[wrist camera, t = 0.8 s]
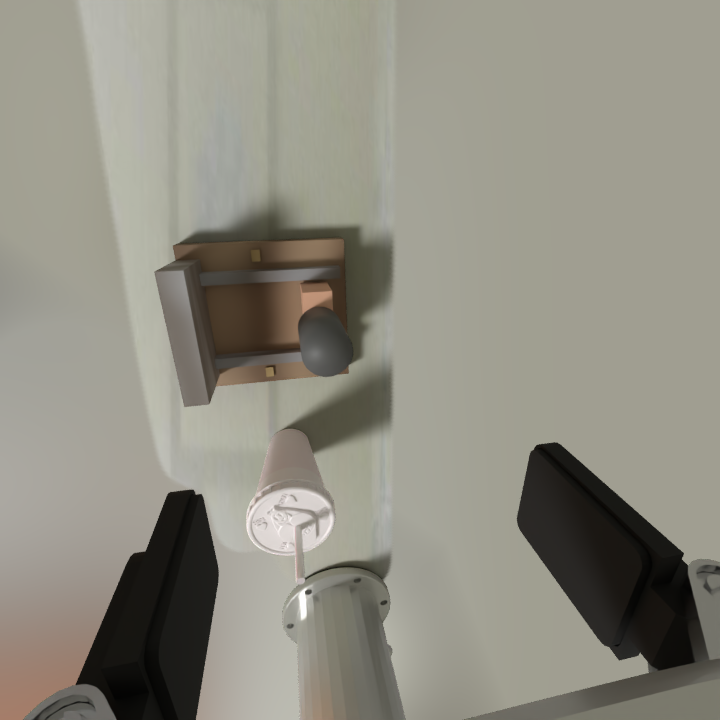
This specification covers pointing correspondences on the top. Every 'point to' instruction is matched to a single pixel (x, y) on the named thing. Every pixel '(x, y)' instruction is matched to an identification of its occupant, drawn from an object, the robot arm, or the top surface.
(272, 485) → the smoothie
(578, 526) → the robot arm
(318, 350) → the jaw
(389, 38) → the top surface
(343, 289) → the vise base
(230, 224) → the top surface
